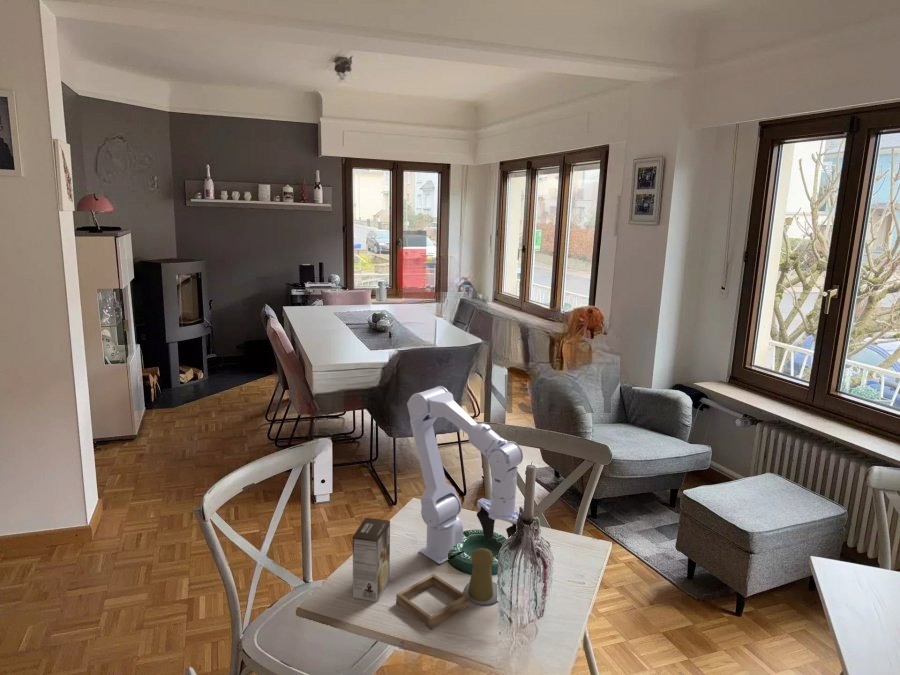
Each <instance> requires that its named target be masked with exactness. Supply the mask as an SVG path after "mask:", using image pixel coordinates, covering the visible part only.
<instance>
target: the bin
mask: <svg viewBox="0 0 900 675" xmlns="http://www.w3.org/2000/svg"><path fill="white" fill-rule="evenodd" d="M432 587H434V588H436V589H437V590H438V591H440V592H442V593H443V594H444V595H445V596H447V597H449V598H450V599H451V600H453V602H451V603H450V604H448V605H446V606H445V607H444V608H442V609H440V610H439V611H437V612H435V613H434V614H432V615H431V614H429V613H428V612H427V611H425V610H424V609H422V608H421V607H420V606H418V605H416V604H415V602H412V601H411V600H410V599H412V598H414V597H416V596H418V595H419V594H421V593H423V592H424V591H427V590H428V589H430V588H432ZM395 595H396V596H395V597H396V598H395V600H396V603H395V604H396V605H397V606H399V607H400V608H401V609H402V610H404V611H405V612H407V613H408V614H409V615H411V616H412V617H414V619H416V620H417V621H419V622H420V623H421V624H423V625H424V626H426V627H427V628H428V629H429V630H433V629H434V628H435V627H436V626H438V625H440V624H442V623H444V622H445V621H447V620H448V619H450V618H451V617H453V616H454V615H456V614H458V613H459V612H460V611H462V610H464V609H465V608H466V607H468V605H469V602H468V601H469V600H468V596H466V595H465V594H464V592H462V591H460V590H459V589H457V588H455V587H454V586H453V585H451V584H450V583H448V582H447V581H445V580H444V579H442V578H441V577H439V576H437V575H436V574H435V573H432V574H430V575H428V576H426V577H425V578H423V579H422V580H419V581H417V582H415V584H412V585H411V586H409V587H406V588H405V589H403V590H402V591H401V590H400V591H399V592H397V593H396V594H395Z"/></svg>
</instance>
